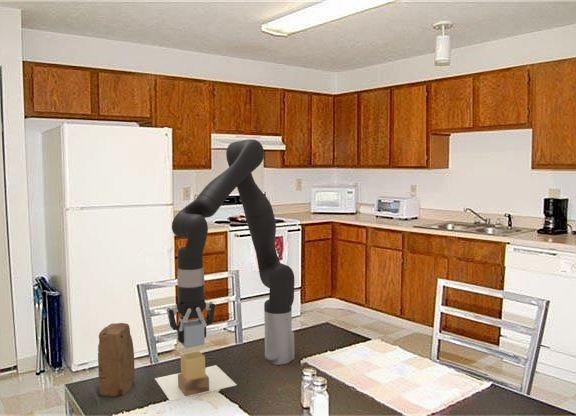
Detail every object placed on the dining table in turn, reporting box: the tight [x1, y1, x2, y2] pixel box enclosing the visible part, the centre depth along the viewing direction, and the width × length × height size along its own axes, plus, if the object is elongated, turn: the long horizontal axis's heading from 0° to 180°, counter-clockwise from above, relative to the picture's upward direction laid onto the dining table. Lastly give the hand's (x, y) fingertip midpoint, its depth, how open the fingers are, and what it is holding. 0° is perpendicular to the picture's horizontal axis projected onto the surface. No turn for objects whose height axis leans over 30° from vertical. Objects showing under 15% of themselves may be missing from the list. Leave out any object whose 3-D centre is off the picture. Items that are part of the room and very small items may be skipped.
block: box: [97, 322, 135, 397], centre depth 144 cm, size 11×8×20 cm
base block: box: [177, 372, 209, 397], centre depth 144 cm, size 7×7×4 cm
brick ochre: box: [180, 350, 206, 381], centre depth 144 cm, size 6×6×6 cm
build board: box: [154, 364, 238, 402], centre depth 149 cm, size 20×17×1 cm
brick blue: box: [181, 318, 206, 349], centre depth 143 cm, size 6×6×6 cm
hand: (192, 340), depth 143 cm, fingers closed on brick blue, 5 cm apart
